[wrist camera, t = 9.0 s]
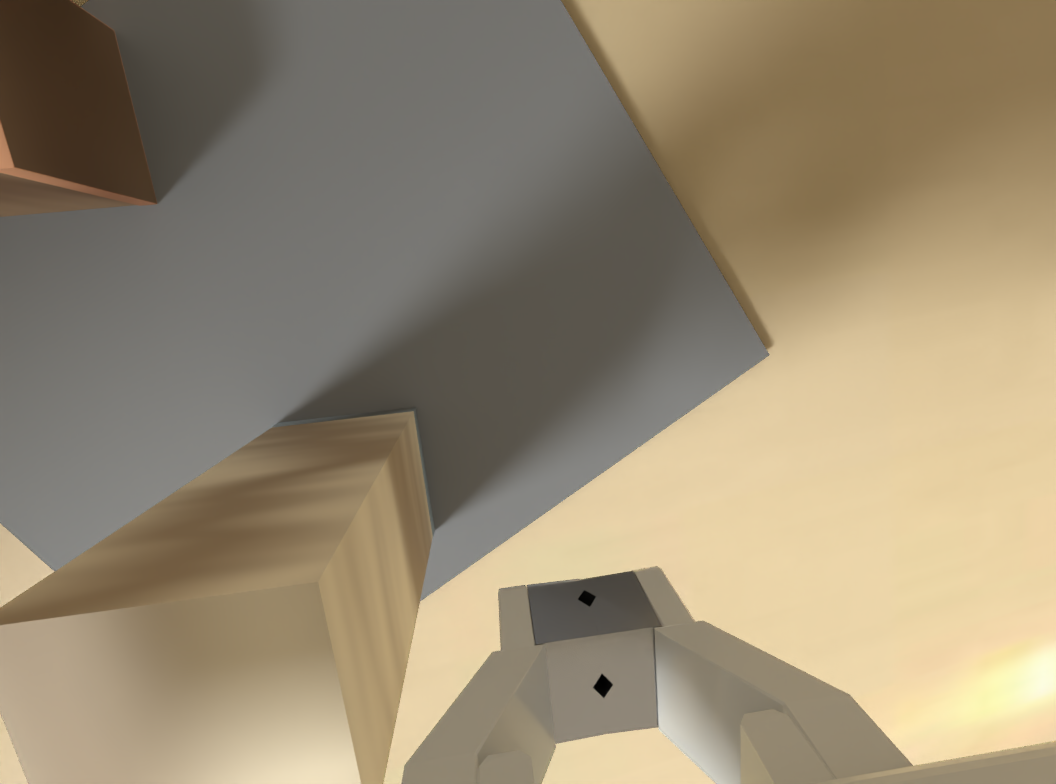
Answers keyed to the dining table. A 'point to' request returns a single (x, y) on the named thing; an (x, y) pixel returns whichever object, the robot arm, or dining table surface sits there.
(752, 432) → the dining table surface
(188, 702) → the maple block
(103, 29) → the walnut block
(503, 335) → the rubber mat
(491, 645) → the dining table surface
